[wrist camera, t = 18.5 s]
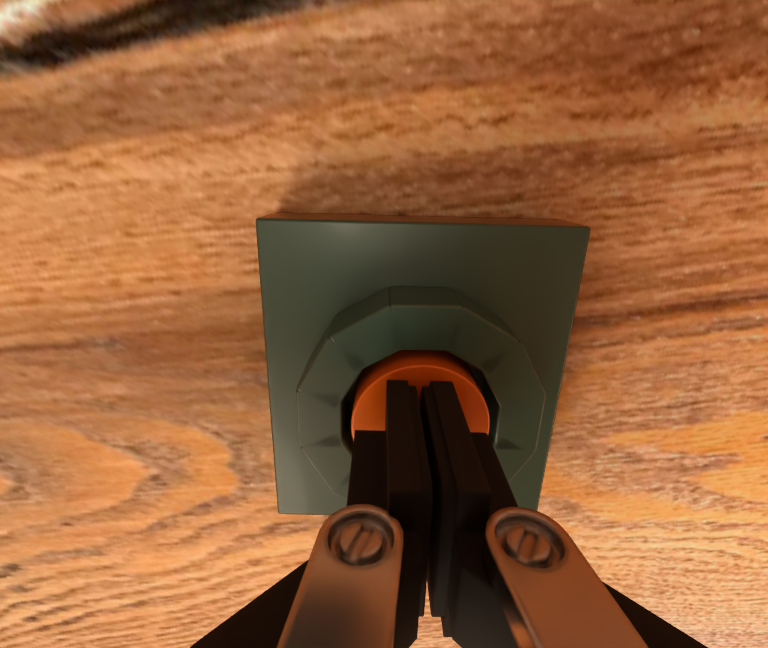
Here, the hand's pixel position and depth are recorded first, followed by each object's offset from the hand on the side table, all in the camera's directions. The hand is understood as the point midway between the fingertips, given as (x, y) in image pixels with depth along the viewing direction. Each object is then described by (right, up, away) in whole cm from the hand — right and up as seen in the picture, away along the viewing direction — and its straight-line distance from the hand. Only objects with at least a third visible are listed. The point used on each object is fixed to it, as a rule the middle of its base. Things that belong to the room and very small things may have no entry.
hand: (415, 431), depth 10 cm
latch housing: (0, +1, +4) cm, 4 cm away
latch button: (0, +1, +2) cm, 2 cm away
